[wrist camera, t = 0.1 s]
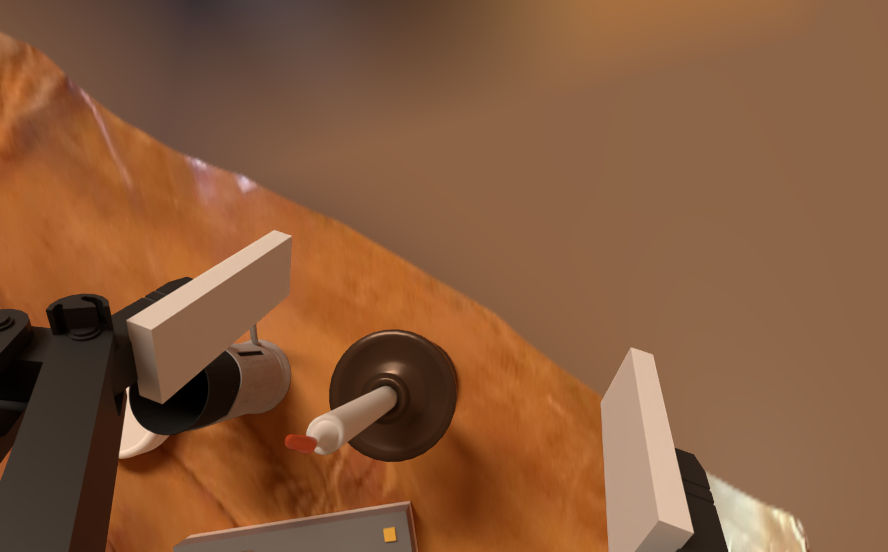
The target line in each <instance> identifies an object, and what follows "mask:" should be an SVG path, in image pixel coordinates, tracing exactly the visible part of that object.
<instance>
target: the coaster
mask: <svg viewBox="0 0 888 552" xmlns="http://www.w3.org/2000/svg"><path fill="white" fill-rule="evenodd" d="M126 392H127V404H126V411H125V418H124V425H123V432H122V439H121V445H120V452H119V459H124V458H130V457H133V456H136V455H139V454H142V453H145V452H148V451H151V450H153V449H155V448H156V447H158V446H159V445H160V444H162V443H163V442H164V441H165V440H166V439H167V438H168V437H169V435H158V434H154V433H152V432H150V431H148V430H146V429H145V428H144V427H142V426H141V425H140V424H139V423H138V421H137V420H136V418H135V417H134V415H133V413H132V411H131V408H130V403H129V387H128V388H127V389H126Z"/></svg>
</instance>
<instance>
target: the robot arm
mask: <svg viewBox="0 0 888 552" xmlns="http://www.w3.org/2000/svg"><path fill="white" fill-rule="evenodd" d="M291 247H292V236H291V235H288V234H285V233H281V232H278V231H275V230H274V231H272V232H270V233H269V234H267V235H265V236H264V237H262V238H260V239H259V240H257V241H256V242H254V243H252V244H251V245H249V246H247V247H246V248H244V249H242V250H241V251H239V252H237V253H236V254H234V255H233V256H231V257H229V258H228V259H226V260H224V261H223V262H221V263H219V264H218V265H216V266H215V267H213V268H211V269H210V270H208V271H206V272H205V273H203V274H201V275H200V276H198V277H197V278H195V279H192V278H189V277H184V278H181V279H177V280H174V281H171V282H168V283H167V284H165V285H163V286H162V287H160V288H158V289H156V291H153V292H151V293H150V294H148V295H146V296H145V298H141V299H139V300H137V301H136V302H134V303H132V304H131V305H129V306H127V307H125V308H124V309H122V310H120V311H119V312H117V313H115V314H113V315H112V316H111V312H110V307H109V302H108V300H107V299H105V298H104V297H103V296H99V295H95V294H78V295H71V296H68V297H65V298H61V299H59V300H57V301H55V302H54V303H52V304H50V306H49V307H48V308H47V309H46V313H47V316H48V320H49V323H50V327H51V328H44V327H34V326H31V323H30V320H29V317H28V314H26V313H24V312H23V311H20V310H14V309H0V463H1V462H2V460H3V459H4V457H5V456H6V455H7V453H8V452H9V450H10V449H11V448H12V446H13V448H12V451H11V453H10V456H9V459H8V462H7V464H6V467H5V470H4V473H3V476H2V478H1V481H0V552H105V549H106V542H107V535H108V528H109V521H110V514H111V508H112V501H113V494H114V487H115V480H116V473H117V466H118V459H119V452H120V445H121V439H122V432H123V425H124V418H125V411H126V404H127V392H126V389H127V388H128V387H129V386H131V385H132V384H133V383H135V382H136V381H137V383H138V388H139V394H140V395H141V396H143V397H146V398H148V399H151V400H153V401H156V402H158V403H161V404H163V403H164V402H166V401H167V400H168V399H169V398H170V397H171V396H173V395H174V394H175V393H176V392H177V391H178V390H179V389H181V388H182V387H183V386H184V385H185V384H186V383H188V382H189V381H190V380H191V379H192V378H193V377H195V376H196V375H197V374H198V373H199V372H200V371H202V370H203V369H204V368H205V367H206V366H207V365H208V364H210V363H211V362H212V361H213V360H214V359H215V358H217V357H218V356H219V355H220V354H221V353H222V352H224V351H225V350H226V349H227V348H228V347H229V346H230V345H232V344H233V343H234V342H235V341H236V340H237V339H239V338H240V337H241V336H242V335H243V334H244V333H246V332H247V331H248V330H249V329H250V328H251V327H252V326H254V325H255V324H256V323H257V322H258V321H259V320H261V319H262V318H263V317H264V316H265V315H266V314H268V313H269V312H270V311H271V310H272V309H273V308H275V307H276V306H277V305H278V304H279V303H280V302H281V301H283V300H284V299H285V298H286V297H287V296H288V295H289V292H290V269H291ZM601 417H602V435H603V453H604V471H605V490H606V508H607V526H608V544H609V552H728V548H727V545H726V542H725V538H724V535H723V531H722V528H721V524H720V521H719V517H718V514H717V510H716V507H715V505H714V500H713V497H712V493H711V492H710V486H709V483H708V479H707V476H706V472H705V471H704V469H703V468H702V466H701V465H700V463H699V462H698V460H697V459H696V457H695V456H694V454H691V453H688V452H685V451H682V450H679V449H677V448H674V445H673V440H672V436H671V431H670V427H669V423H668V419H667V414H666V410H665V406H664V401H663V397H662V392H661V388H660V384H659V379H658V375H657V371H656V367H655V362H654V358H653V355H652V354H649V353H646V352H643V351H640V350H637V349H634V348H630V350H629V352H628V354H627V355H626V357H625V359H624V361H623V363H622V365H621V366H620V368H619V370H618V372H617V374H616V376H615V378H614V379H613V381H612V383H611V385H610V387H609V389H608V390H607V392H606V394H605V396H604V398H603V400H602V401H601Z"/></svg>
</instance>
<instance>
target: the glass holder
mask: <svg viewBox="0 0 888 552" xmlns="http://www.w3.org/2000/svg"><path fill="white" fill-rule="evenodd" d="M250 335H251V340H249V341H246V342H243V343H241V344H232V345H230V346H229V347H228V348H227V349H226V350H225V351H224V352H222V353H221V354H220V355H219V356H218V357H217V358H215V359H214V360H213V361H212V362H211V363H210V364H208V365H207V366H206V367H205V368H204V369H203V370H202V371H200V372H199V373H198V374H197V375H196V376H195V377H193V378H192V379H191V380H190V381H189V382H188V383H186V384H185V385H184V386H183V387H182V388H181V389H179V390H178V391H177V392H176V393H175V394H174V395H173V396H171V397H170V398H169V399H168V400H167V401H166V402H164V403H163V404H161V403H158V402H156V401H153V400H151V399H148V398H146V397H143V396H141V395H140V394H139V388H138V383H137V381H136V382H135V383H133V384H132V385H131V386H129V403H130V408H131V411H132V413H133V415H134V417H135V418H136V420H137V421H138V423H139V424H140V425H141V426H142V427H144V428H145V429H146V430H148V431H150V432H152V433H154V434H158V435H175V434H178V433H181V432H184V431H192V430H197V429H201V428H204V427H207V426H210V425H213V424H216V423H219V422H222V421H226V420H229V419H232V418H235V417H238V416H241V415H244V414H259V413H264V412H267V411H269V410H271V409H273V408H274V407H275V406H277V405H278V404H279V403H280V402H281V401H282V400H283V398H284V397H285V395H286V393H287V391H288V389H289V385H290V381H291V369H290V364H289V361H288V359H287V357H286V355H285V354H284V352H283V351H282V350H281V349H280V348H279V347H278V346H277V345H275V344H274V343H272V342H269V341H266V340H260V339H258V338H257V328H256V324H255V325H254V326H252V327H251V328H250Z"/></svg>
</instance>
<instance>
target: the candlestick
mask: <svg viewBox="0 0 888 552" xmlns="http://www.w3.org/2000/svg"><path fill="white" fill-rule="evenodd" d="M456 401H457V385H456V371H455V367H454V364H453V362H452V360H451V358H450V357H449V355H448V354H447V353H446V352H445V351H444V350H443V349H442V348H441V347H440V346H438V345H436V344H435V343H432V342H431V341H429V340H428V339H426V338H425V337H423V336H421V335H418V334H416V333H413V332H410V331H404V330H383V331H378V332H374V333H371V334H369V335H367V336H365V337H363V338H361V339H360V340H358V341H357V342H355V343H354V344H353V345H351V347H350V348H349V349H348V350H347V351H346V352H345V353H344V354H343V355H342V357H341V359H340V360H339V362H338V363H337V365H336V367H335V370H334V373H333V375H332V378H331V384H330V389H329V403H330V408H331V411H330V412H328V413H325V414H323V415H321V416H319V417H317V418H315V419H314V420H313V421H312V422H311V423H310V425H309V426H308V429H307V433H306V435H294V434H290V435H288V436H287V437H286V438H285V445H286V447H287V448H289V449H293V450H297V451H298V452H300V453H305V454H310V453H312V452H313V451H314V452H316V453H318V454H321V455H328V454H331V453H333V452H335V451H336V450H337V449H339V448H340V447H341V446H343V445H344V444H345V443H347V442H348V443H349V444H350V445H351V446H352V447H353V448H354V449H356V450H357V451H359V452H360V453H362V454H363V455H366V456H368V457H370V458H373V459H376V460H381V461H386V462H400V461H404V460H409V459H413V458H415V457H417V456H419V455H421V454H424V453H425V452H426V451H428V450H429V449H430V448H432V447H433V446H434V445H435V444H436V443H437V442H438V441H439V440H440V439H441V438H442V437H443V435H444V434H445V432H446V430H447V429H448V427H449V425H450V423H451V420H452V418H453V415H454V412H455V407H456Z"/></svg>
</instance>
